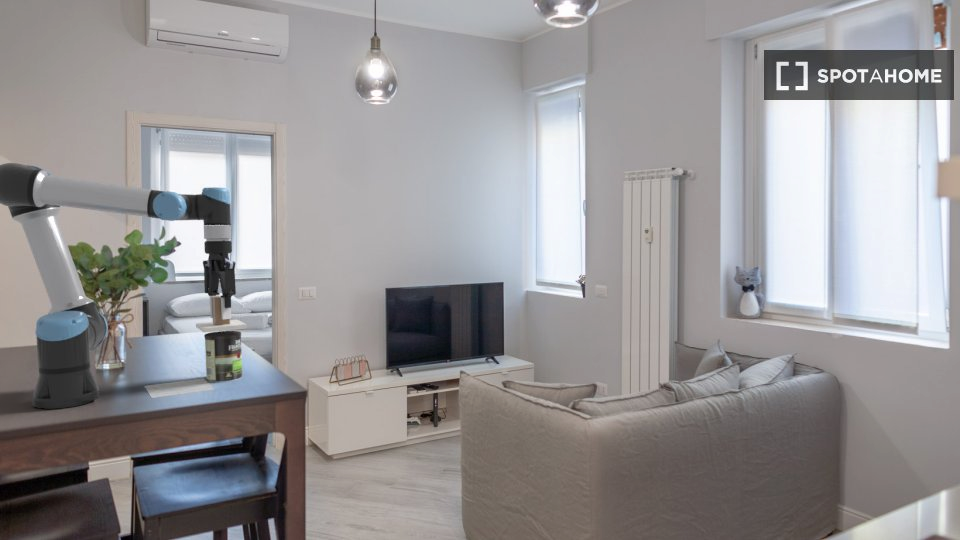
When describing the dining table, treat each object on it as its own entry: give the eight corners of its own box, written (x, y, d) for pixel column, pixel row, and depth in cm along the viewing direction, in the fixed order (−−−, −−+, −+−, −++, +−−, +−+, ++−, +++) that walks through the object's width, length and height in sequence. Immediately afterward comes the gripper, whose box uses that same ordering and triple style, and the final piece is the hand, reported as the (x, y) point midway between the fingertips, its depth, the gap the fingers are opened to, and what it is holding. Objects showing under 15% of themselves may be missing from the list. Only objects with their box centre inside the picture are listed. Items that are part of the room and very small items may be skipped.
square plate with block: (204, 332, 190) (202, 300, 189) (196, 327, 200) (194, 296, 199) (247, 328, 196) (246, 297, 195) (237, 323, 206) (236, 294, 206)
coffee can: (249, 376, 203) (247, 330, 202) (230, 384, 193) (228, 336, 192) (219, 375, 205) (217, 330, 204) (198, 383, 195) (196, 335, 194)
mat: (151, 400, 177) (151, 398, 177) (144, 388, 190) (144, 385, 190) (215, 391, 185) (214, 389, 185) (203, 380, 199) (203, 378, 199)
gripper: (247, 240, 193) (250, 319, 195) (212, 239, 204) (215, 314, 206) (223, 240, 188) (226, 322, 189) (189, 240, 198) (192, 317, 200)
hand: (220, 318), depth 198 cm, fingers closed on square plate with block, 5 cm apart
